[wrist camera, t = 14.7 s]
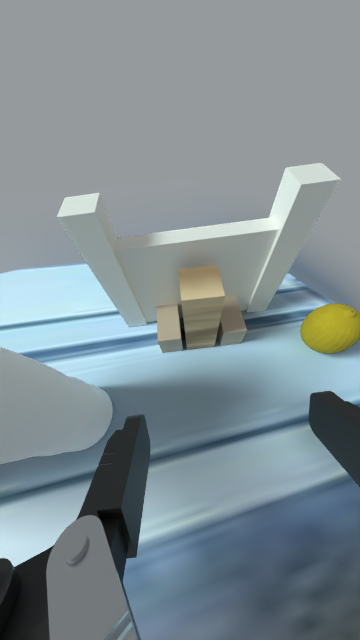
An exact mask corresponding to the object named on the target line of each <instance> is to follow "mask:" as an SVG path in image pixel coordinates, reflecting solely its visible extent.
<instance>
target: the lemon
mask: <svg viewBox="0 0 360 640" xmlns="http://www.w3.org/2000/svg"><path fill="white" fill-rule="evenodd" d="M300 333H301V337H302V340H303V341H304V343H305V344H306V345H307V346H308V347H310V348H311V349H313V350H315V351H317V352H321V353H336V352H340V351H343V350H346V349H347V348H349V347H351V346H352V345H354V344H355V343H356V342H357V341H358V340H359V339H360V313H359V312H358V311H357V310H355V309H354V308H352V307H350V306H348V305H344V304H327V305H324V306H322V307H319V308H317V309H315V310H314V311H312V312H311V313H310V314H309V315H308V316H307V317H306V318H305V319H304V321H303V323H302V325H301V329H300Z"/></svg>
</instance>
